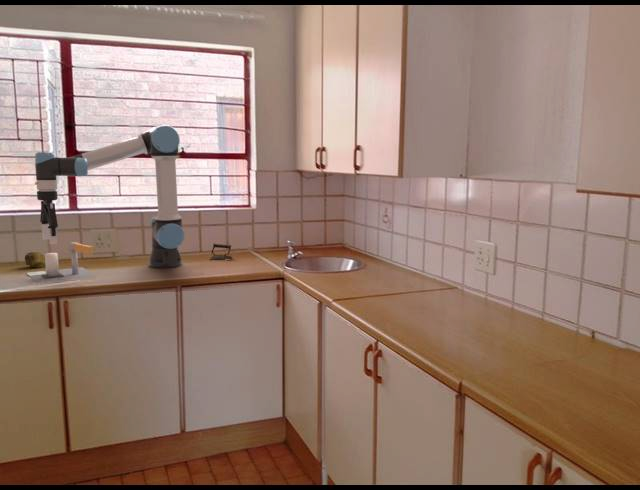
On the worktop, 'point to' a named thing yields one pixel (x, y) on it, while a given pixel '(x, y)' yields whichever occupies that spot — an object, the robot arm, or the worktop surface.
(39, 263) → the potato
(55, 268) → the plug
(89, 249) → the orange bar
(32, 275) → the pad
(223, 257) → the clothes iron
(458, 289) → the worktop surface
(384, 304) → the worktop surface
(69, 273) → the white stand
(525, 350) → the worktop surface
